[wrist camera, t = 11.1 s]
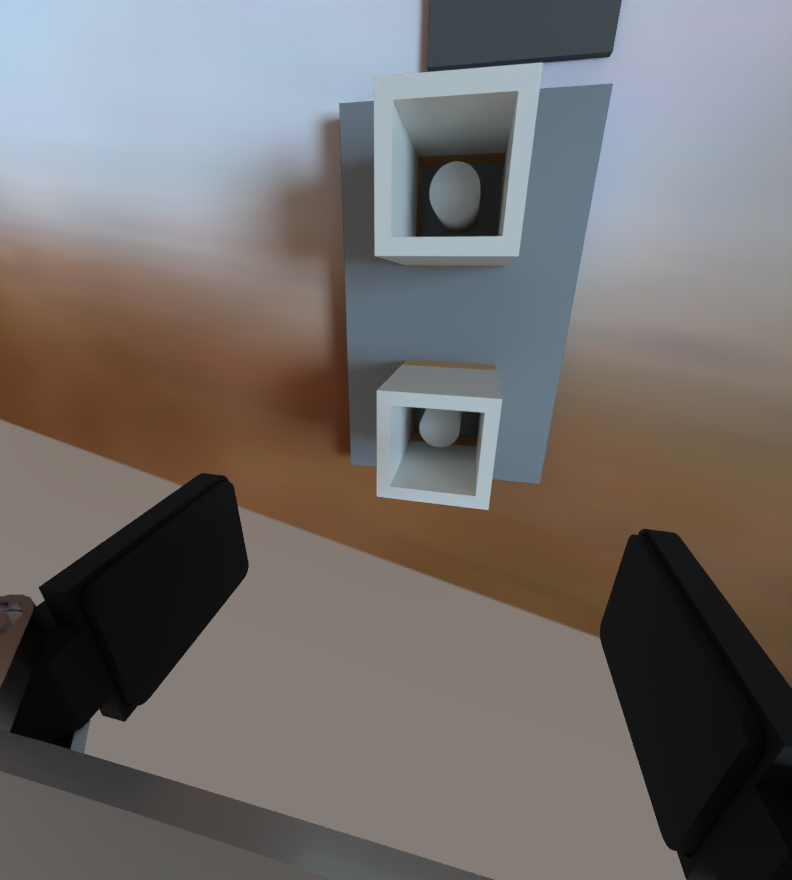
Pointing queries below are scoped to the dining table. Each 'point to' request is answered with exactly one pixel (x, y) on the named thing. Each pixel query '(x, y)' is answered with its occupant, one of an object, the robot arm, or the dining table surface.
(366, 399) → the pin board
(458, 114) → the seated sleeve
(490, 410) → the sleeve
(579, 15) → the mat
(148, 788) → the robot arm
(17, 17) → the dining table surface
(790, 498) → the dining table surface
